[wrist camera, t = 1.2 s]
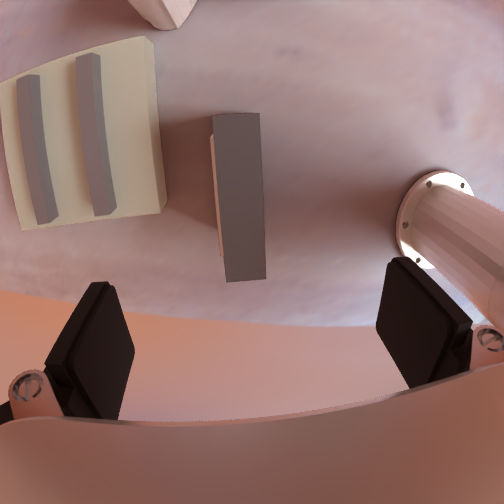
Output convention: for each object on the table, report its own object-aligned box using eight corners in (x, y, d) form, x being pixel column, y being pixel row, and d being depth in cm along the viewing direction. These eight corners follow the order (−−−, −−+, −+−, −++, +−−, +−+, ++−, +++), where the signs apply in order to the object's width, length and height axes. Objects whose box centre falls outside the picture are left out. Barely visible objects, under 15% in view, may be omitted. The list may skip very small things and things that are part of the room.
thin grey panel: (248, 112, 28) (259, 113, 19) (254, 230, 33) (266, 279, 24) (213, 115, 27) (207, 116, 18) (222, 232, 33) (222, 282, 24)
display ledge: (154, 44, 24) (137, 29, 18) (167, 200, 31) (155, 220, 25) (20, 83, 23) (-13, 83, 17) (39, 218, 30) (12, 239, 24)
